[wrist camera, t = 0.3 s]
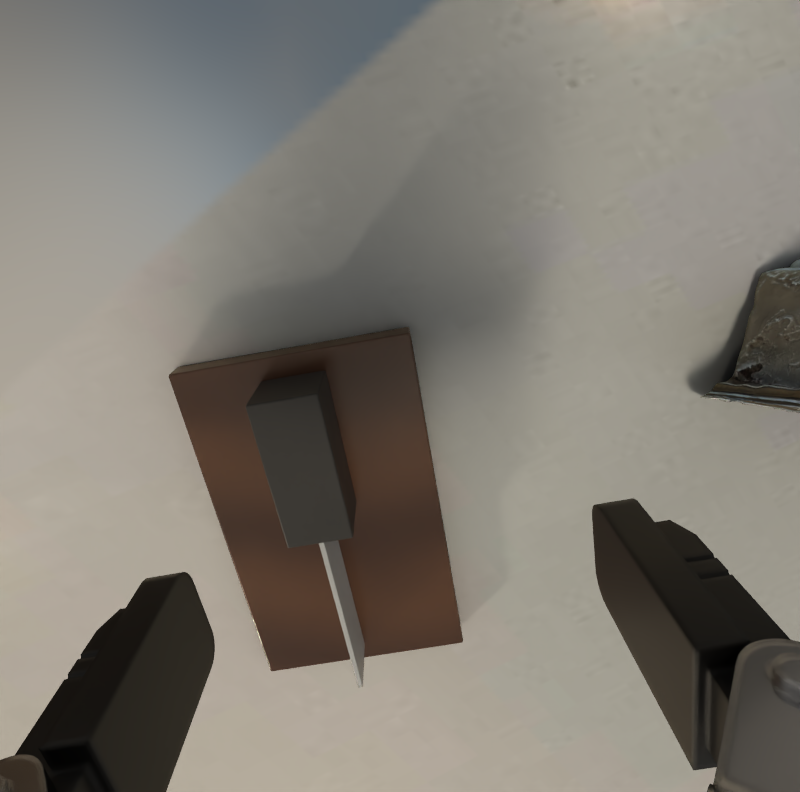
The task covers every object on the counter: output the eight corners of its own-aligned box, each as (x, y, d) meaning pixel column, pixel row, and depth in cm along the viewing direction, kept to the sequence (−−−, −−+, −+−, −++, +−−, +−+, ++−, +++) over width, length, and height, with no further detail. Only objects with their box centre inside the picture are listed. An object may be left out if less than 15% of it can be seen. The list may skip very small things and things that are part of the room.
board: (177, 366, 26) (167, 375, 24) (409, 326, 25) (410, 332, 24) (274, 655, 32) (270, 672, 31) (460, 626, 32) (463, 643, 31)
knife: (260, 380, 25) (244, 406, 22) (325, 369, 25) (317, 393, 22) (336, 648, 30) (331, 695, 28) (389, 640, 30) (389, 686, 28)
